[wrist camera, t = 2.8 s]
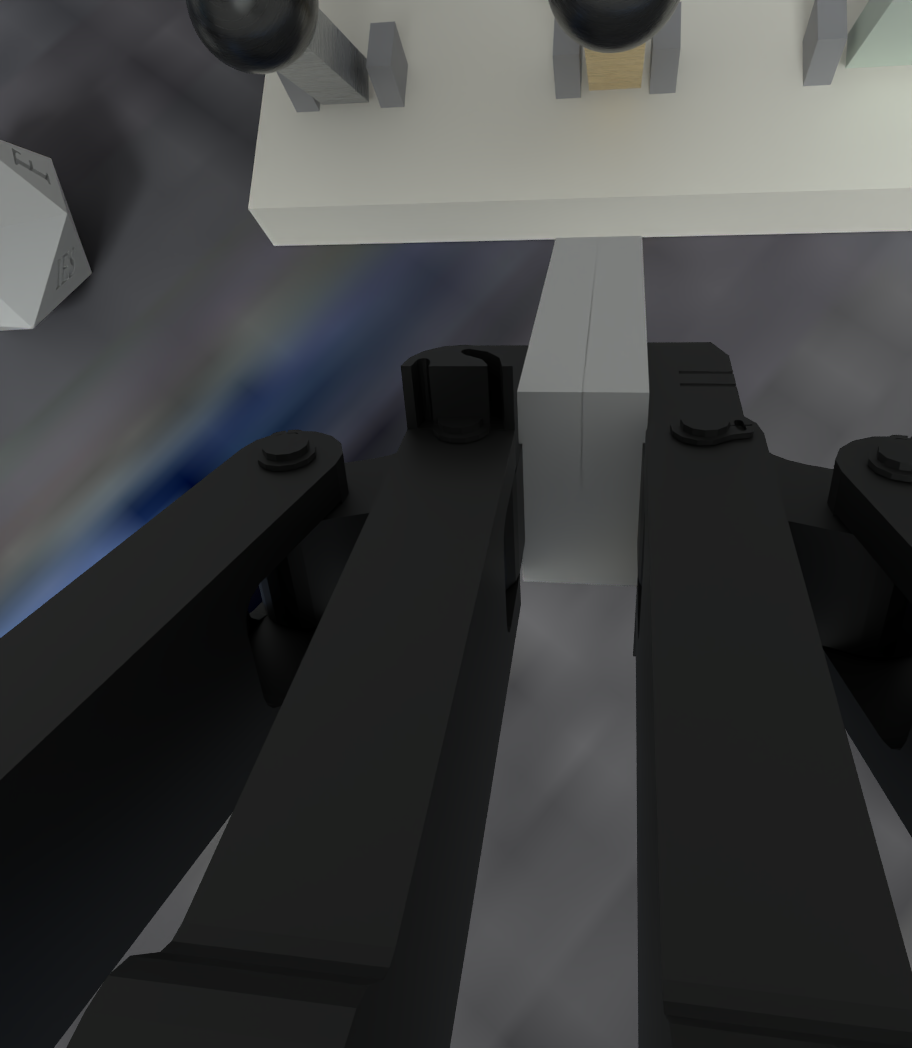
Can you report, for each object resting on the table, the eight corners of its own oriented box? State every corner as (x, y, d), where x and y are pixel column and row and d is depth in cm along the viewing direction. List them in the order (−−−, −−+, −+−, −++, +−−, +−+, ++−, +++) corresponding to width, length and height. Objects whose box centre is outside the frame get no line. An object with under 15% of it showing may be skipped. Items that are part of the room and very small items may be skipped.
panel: (997, 228, 34) (1068, 141, 29) (274, 246, 39) (224, 174, 34) (982, -11, 36) (1046, -132, 31) (299, 36, 42) (256, -62, 36)
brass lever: (665, 119, 34) (689, 23, 23) (563, 124, 35) (538, 32, 24) (670, 6, 33) (698, -150, 22) (565, 14, 34) (541, -134, 23)
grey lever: (393, 132, 36) (295, 49, 25) (301, 136, 37) (166, 57, 26) (390, 26, 35) (288, -110, 24) (296, 32, 36) (154, -97, 25)
